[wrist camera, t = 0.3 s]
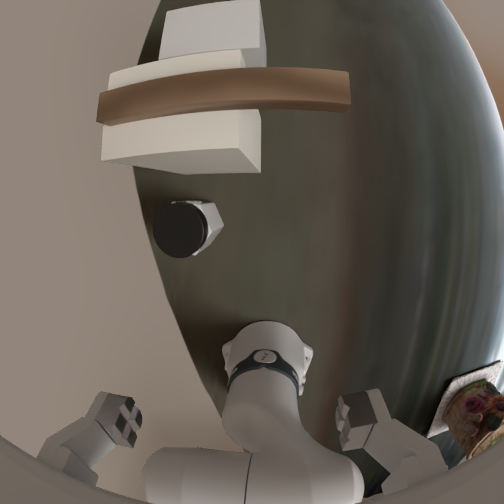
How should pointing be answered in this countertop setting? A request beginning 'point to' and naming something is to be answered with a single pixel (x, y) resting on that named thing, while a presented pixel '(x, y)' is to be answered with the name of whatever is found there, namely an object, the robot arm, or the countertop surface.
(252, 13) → the low stand
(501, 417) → the cookie jar
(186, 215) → the jar
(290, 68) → the bar
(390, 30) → the countertop surface
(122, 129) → the tall stand
